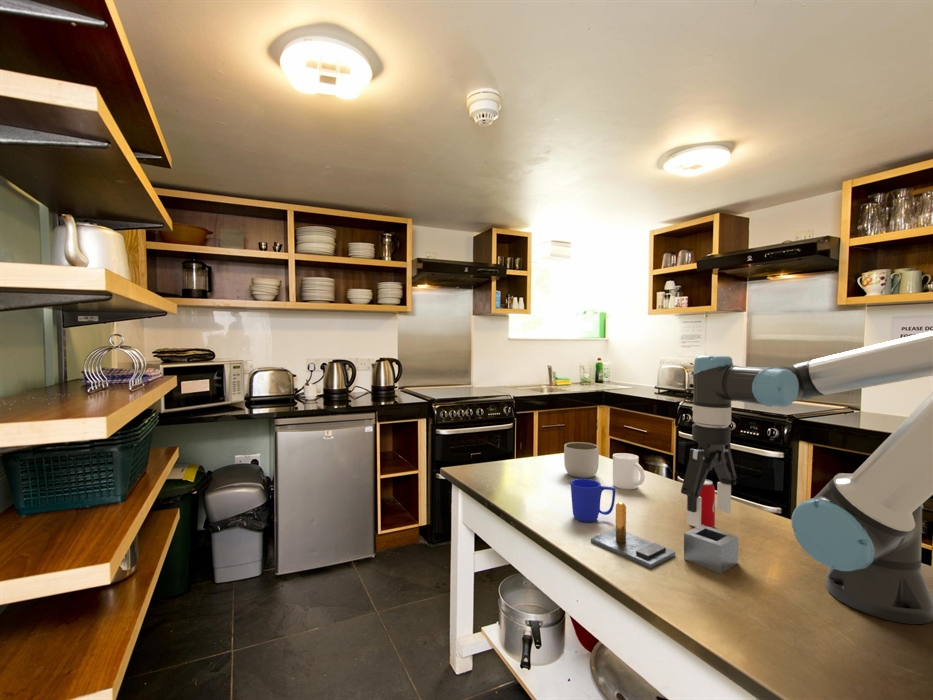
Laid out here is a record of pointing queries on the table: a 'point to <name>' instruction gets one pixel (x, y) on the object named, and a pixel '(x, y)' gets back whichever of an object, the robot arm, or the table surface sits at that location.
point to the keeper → (632, 543)
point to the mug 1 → (588, 499)
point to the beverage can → (708, 504)
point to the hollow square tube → (711, 548)
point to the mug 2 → (627, 471)
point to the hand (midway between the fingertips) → (709, 518)
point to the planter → (581, 459)
